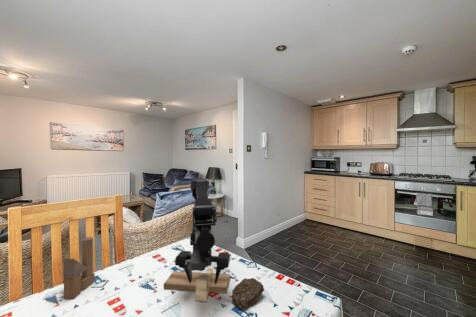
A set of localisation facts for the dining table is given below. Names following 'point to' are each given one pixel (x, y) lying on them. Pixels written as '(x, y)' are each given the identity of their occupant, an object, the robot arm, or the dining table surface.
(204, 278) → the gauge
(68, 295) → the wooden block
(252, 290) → the brown rock
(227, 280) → the board
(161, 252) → the dining table surface
